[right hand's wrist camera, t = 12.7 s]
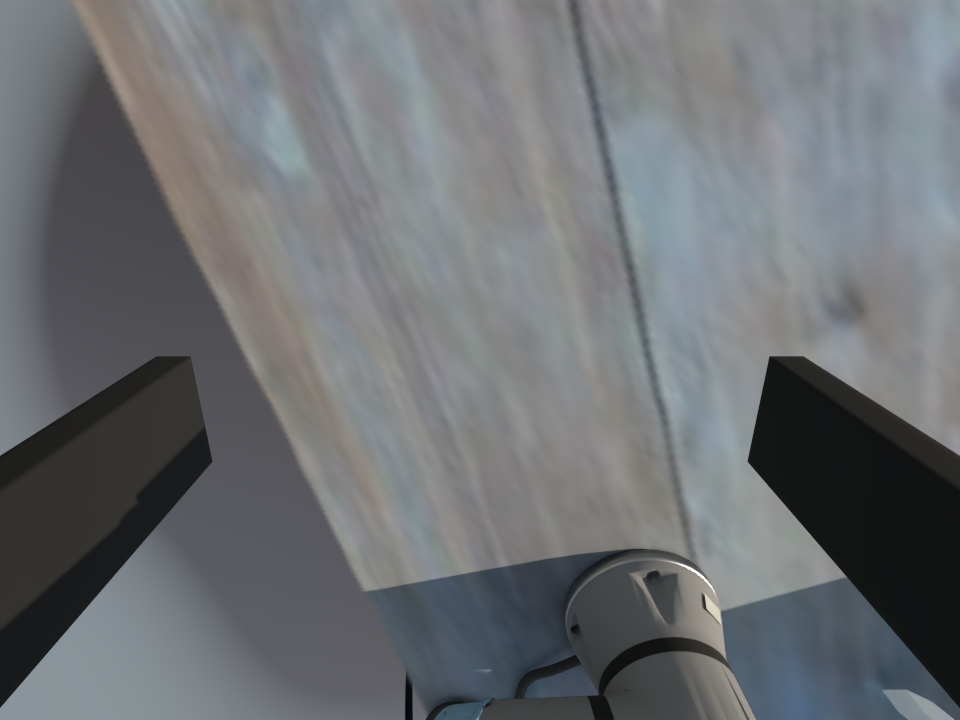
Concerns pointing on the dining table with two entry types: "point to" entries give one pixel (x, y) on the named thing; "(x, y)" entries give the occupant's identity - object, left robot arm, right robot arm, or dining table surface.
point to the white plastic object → (915, 706)
